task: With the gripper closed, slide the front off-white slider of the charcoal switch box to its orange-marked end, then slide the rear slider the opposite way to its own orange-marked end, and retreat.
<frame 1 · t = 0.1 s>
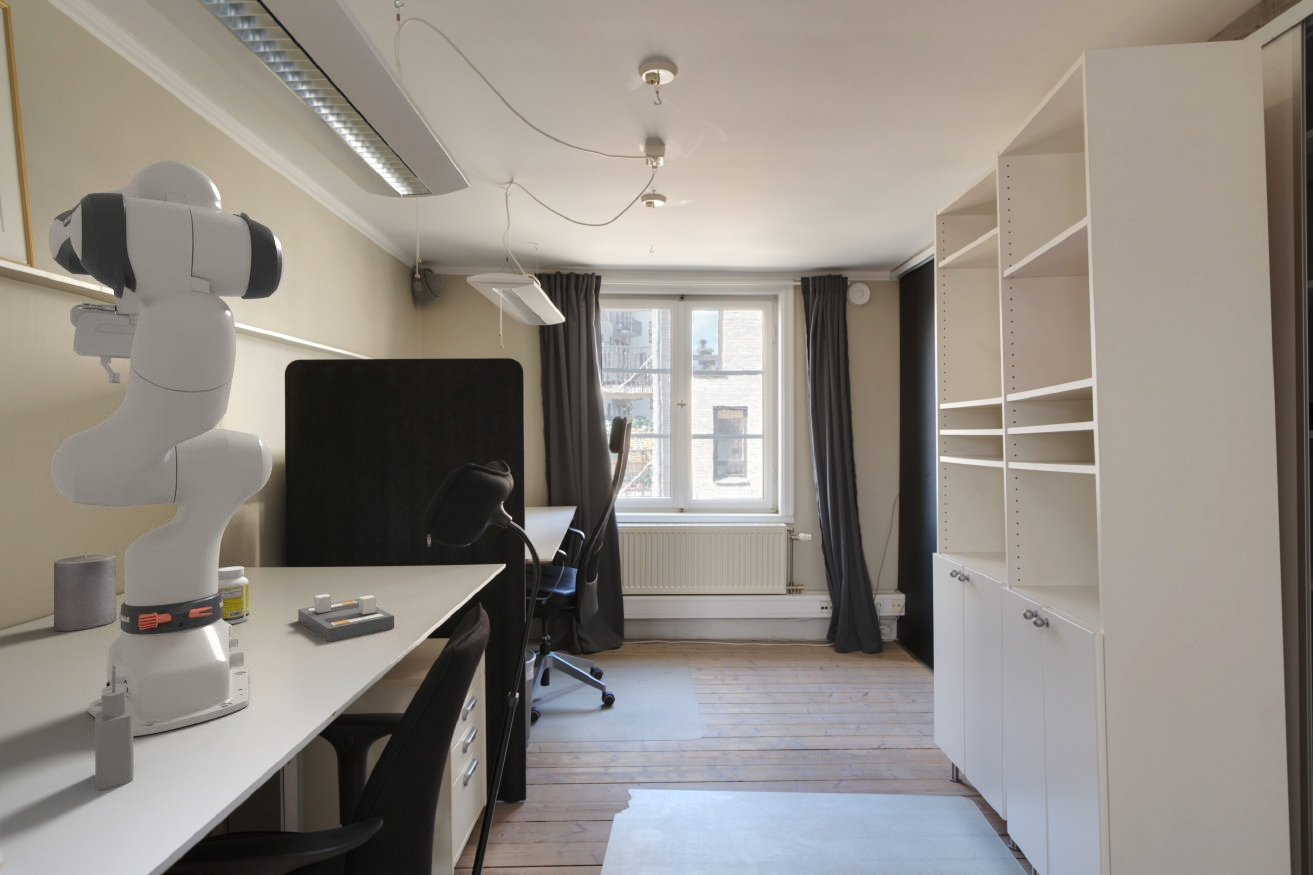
hand: (148, 384, 117), 48 cm above the table, fingers open, 8 cm apart
front slider: (367, 604, 128), point 4 cm above the table, slide at 0.0 cm
pill bottle: (231, 622, 133), on the table
rear slider: (322, 603, 130), point 4 cm above the table, slide at 6.0 cm
switch housing: (345, 624, 129), on the table
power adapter: (115, 778, 71), on the table
pillar candle: (86, 625, 132), on the table
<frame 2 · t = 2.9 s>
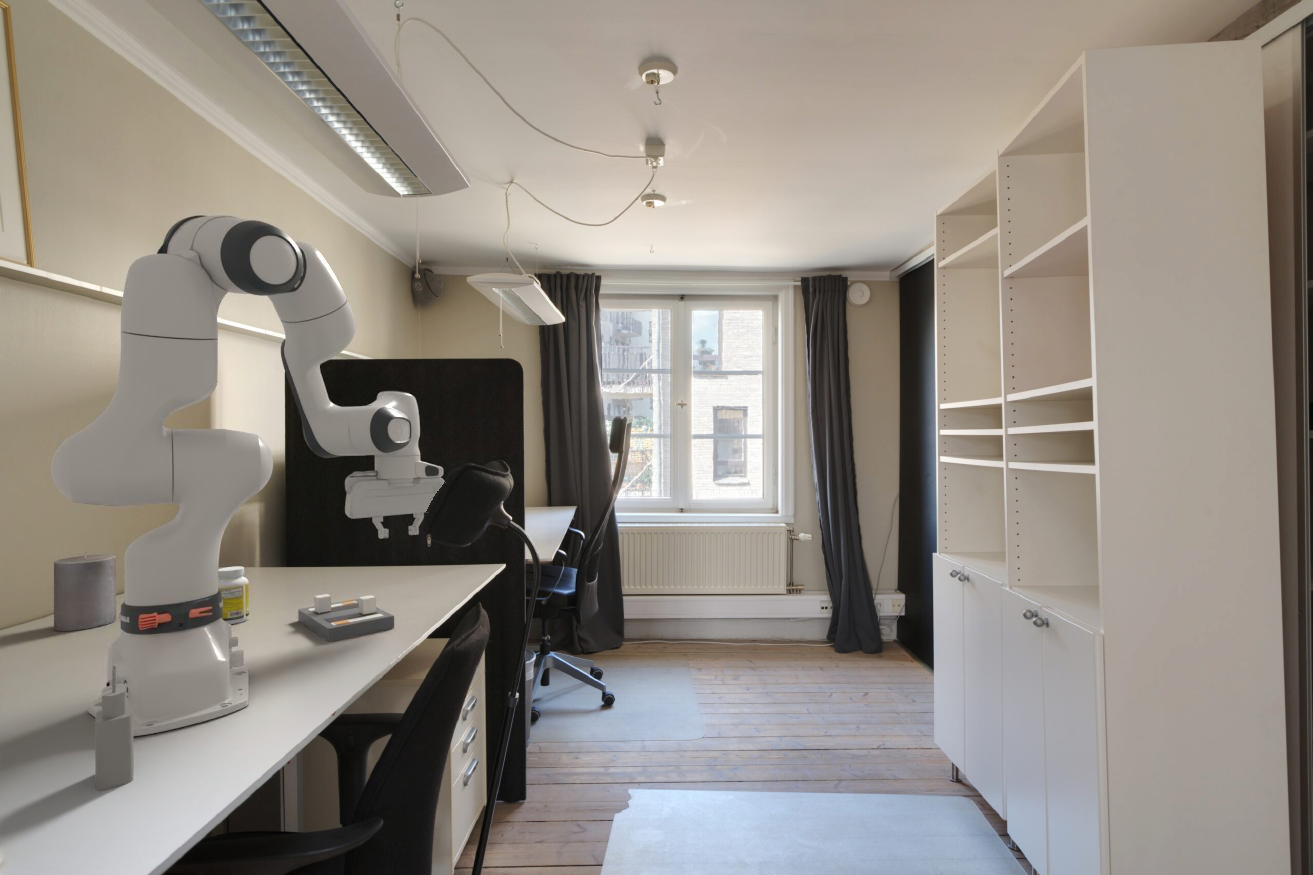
hand: (398, 536, 133), 17 cm above the table, fingers open, 5 cm apart
nothing on the table moved.
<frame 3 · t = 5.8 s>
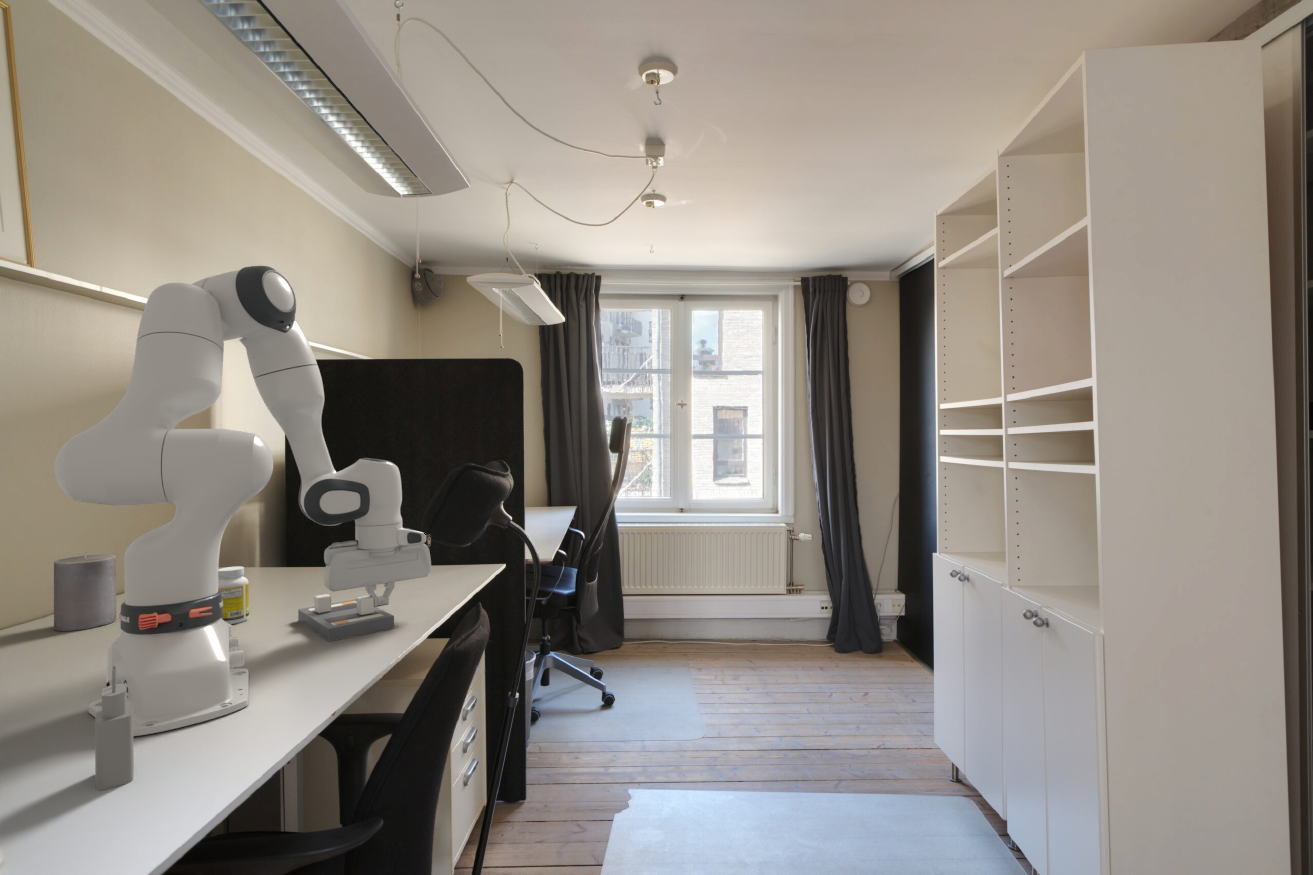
hand: (380, 605, 130), 3 cm above the table, fingers closed
front slider: (365, 605, 128), point 4 cm above the table, slide at 0.4 cm, touching gripper
everything else where it was.
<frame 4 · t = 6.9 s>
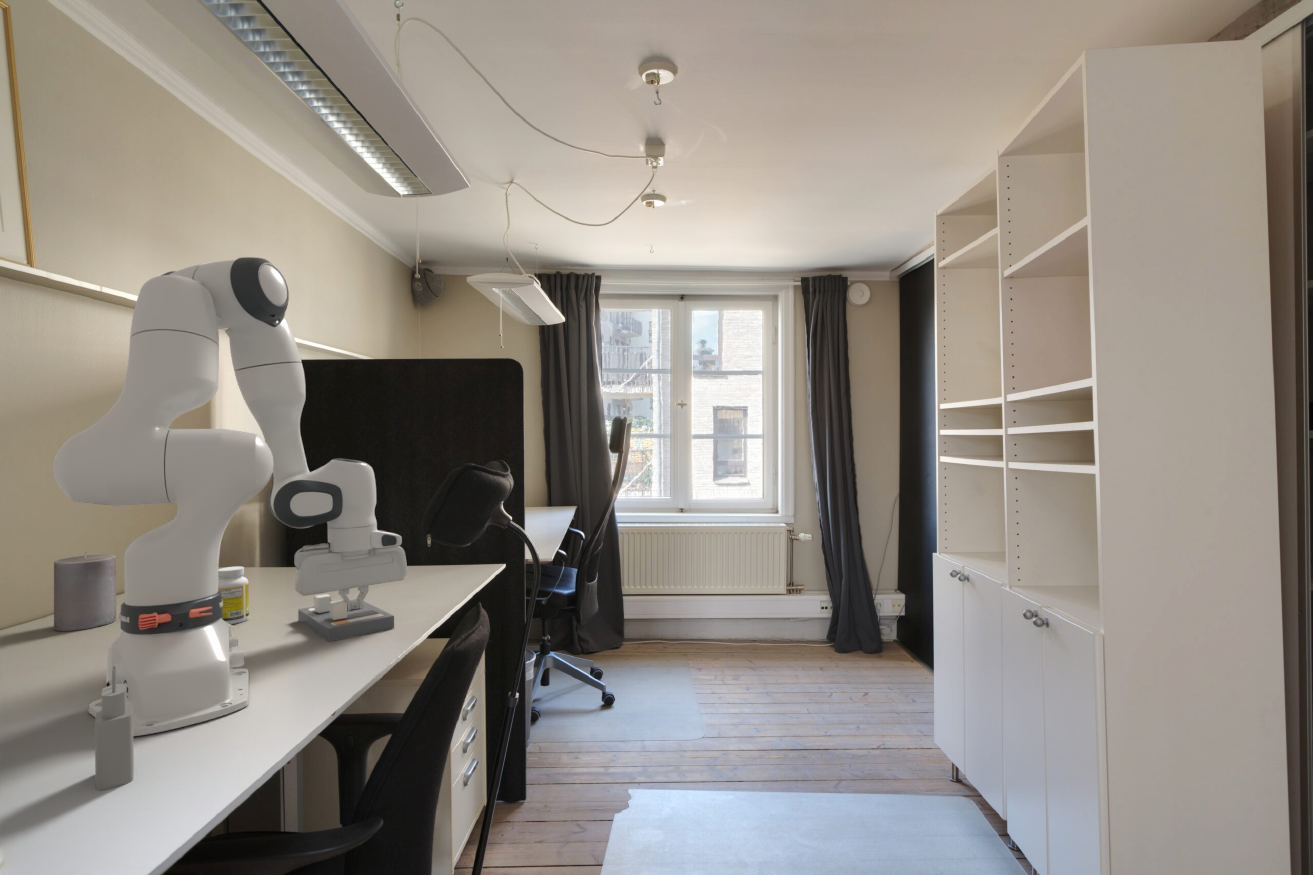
hand: (353, 610, 127), 4 cm above the table, fingers closed
front slider: (338, 609, 125), point 4 cm above the table, slide at 5.5 cm, touching gripper
everything else where it was.
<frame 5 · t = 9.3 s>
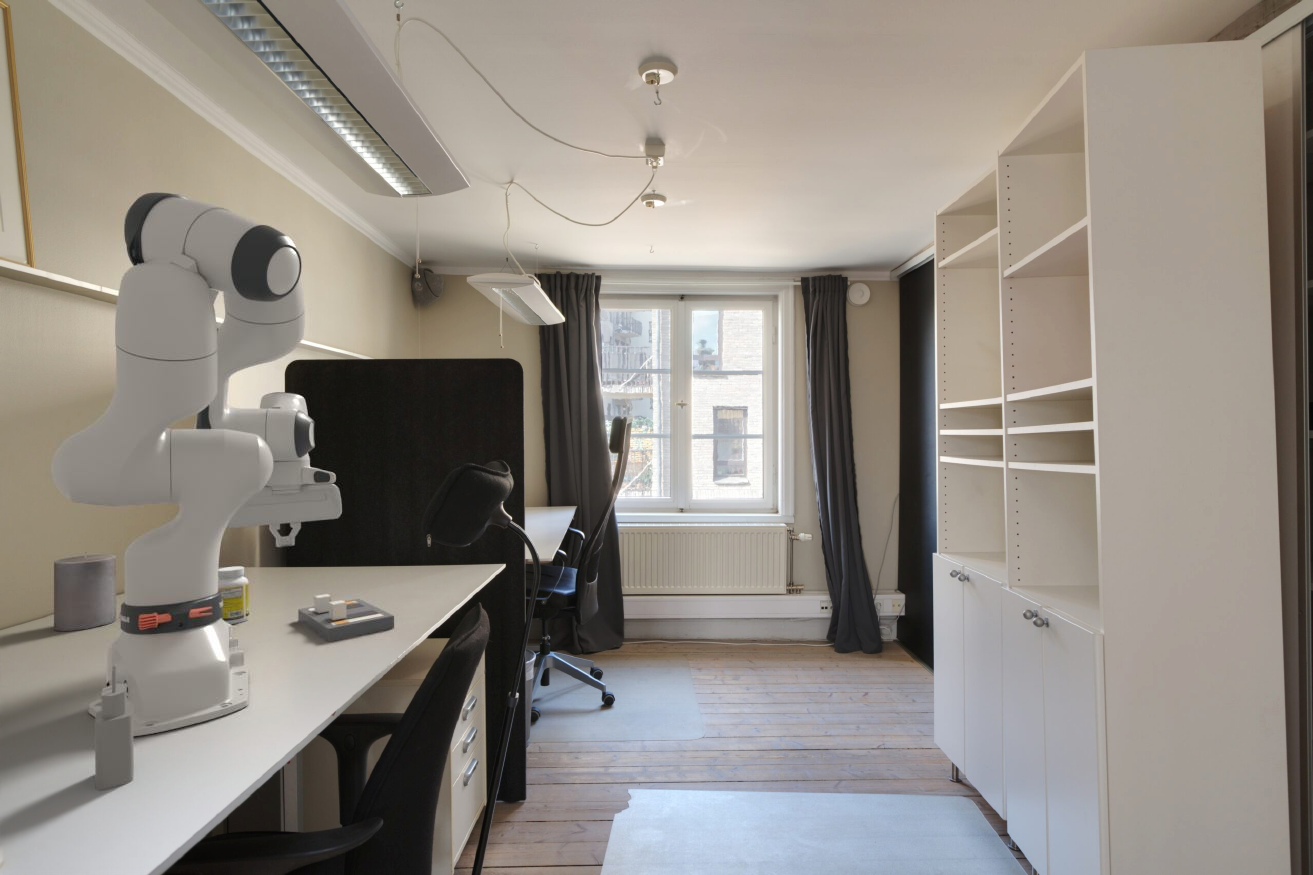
hand: (285, 546, 126), 17 cm above the table, fingers closed
front slider: (337, 610, 125), point 4 cm above the table, slide at 5.6 cm
everything else where it was.
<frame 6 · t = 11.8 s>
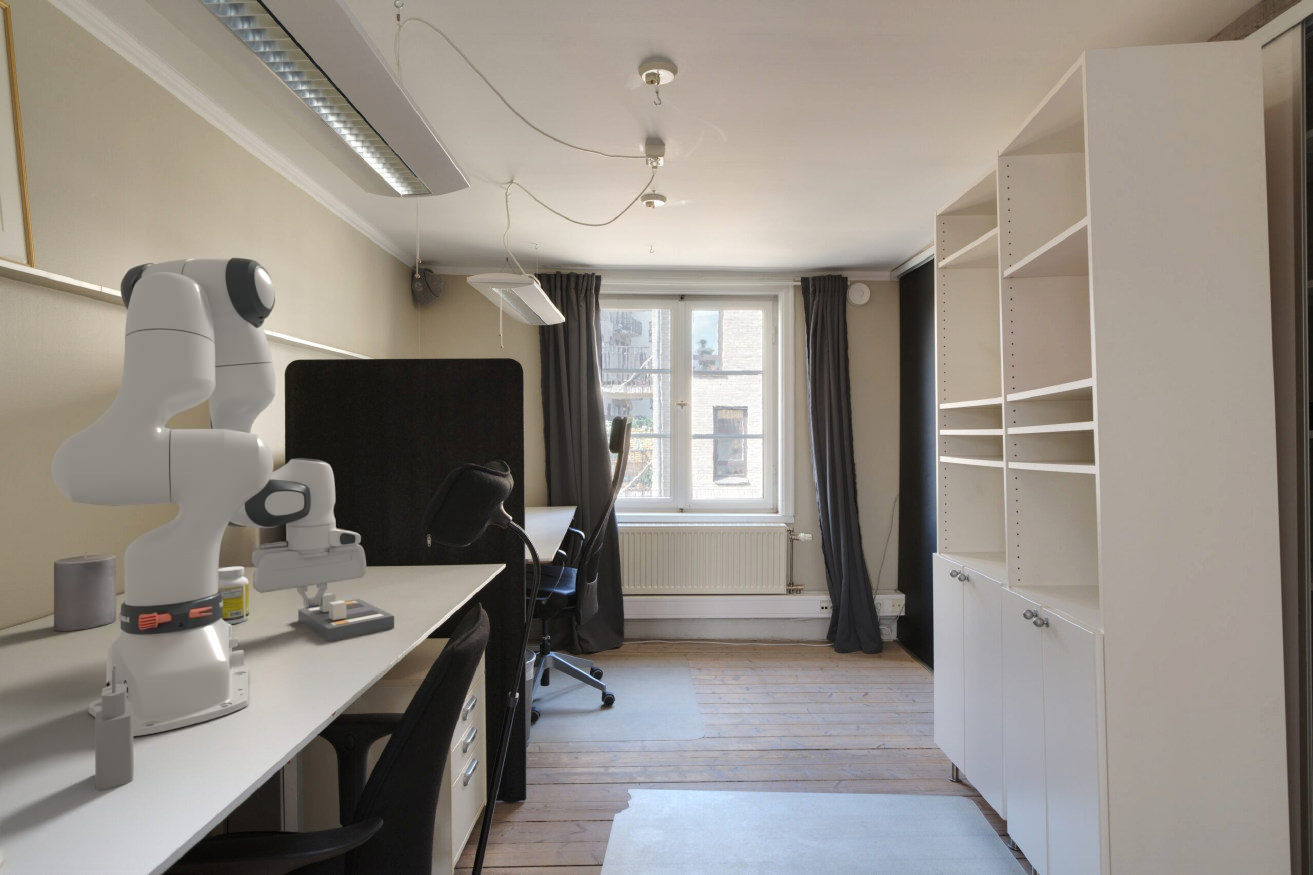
hand: (312, 606, 129), 4 cm above the table, fingers closed
rear slider: (327, 602, 131), point 4 cm above the table, slide at 5.1 cm, touching gripper
everything else where it was.
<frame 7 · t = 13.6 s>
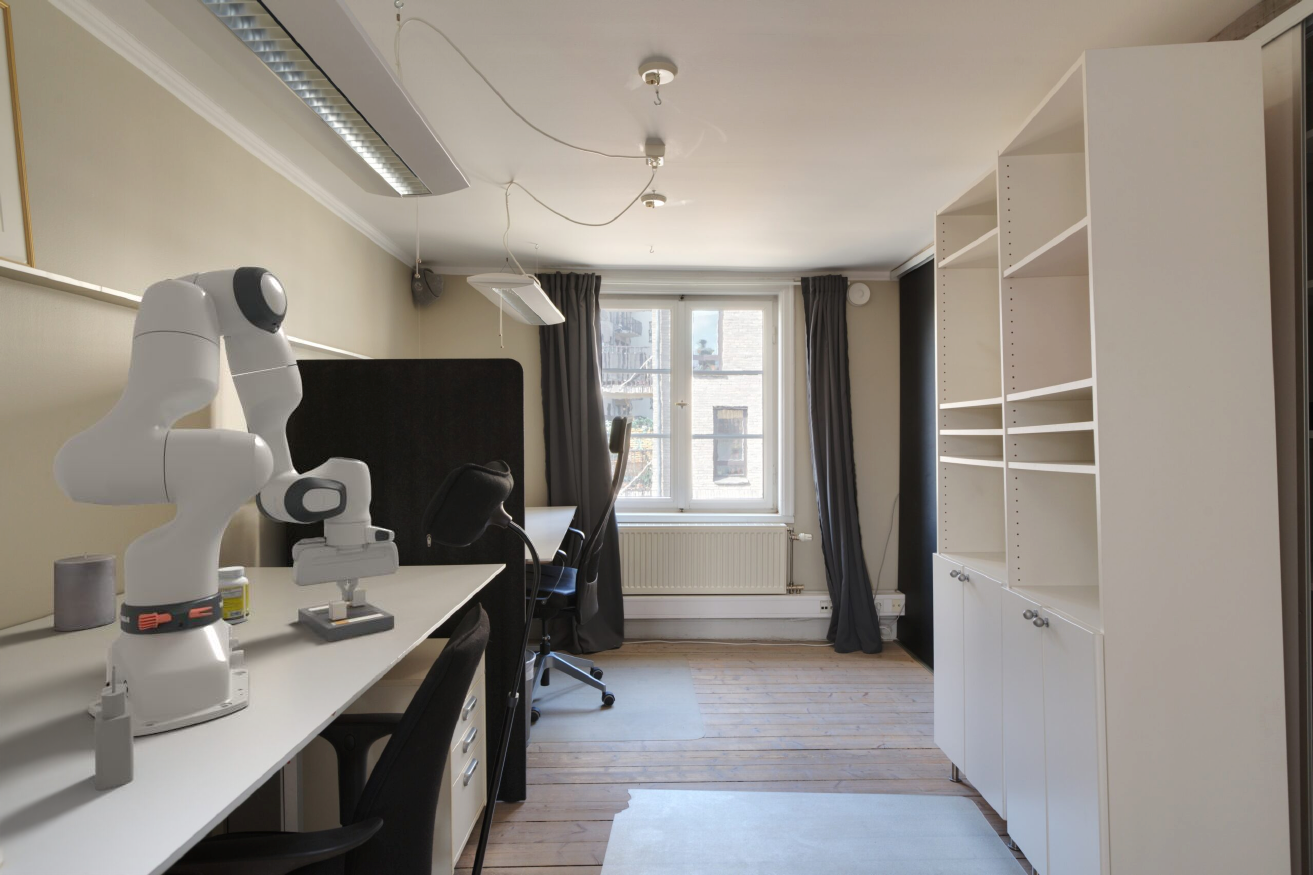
hand: (347, 601, 134), 4 cm above the table, fingers closed, pressing on rear slider
rear slider: (357, 597, 135), point 4 cm above the table, slide at -0.7 cm, touching gripper
everything else where it was.
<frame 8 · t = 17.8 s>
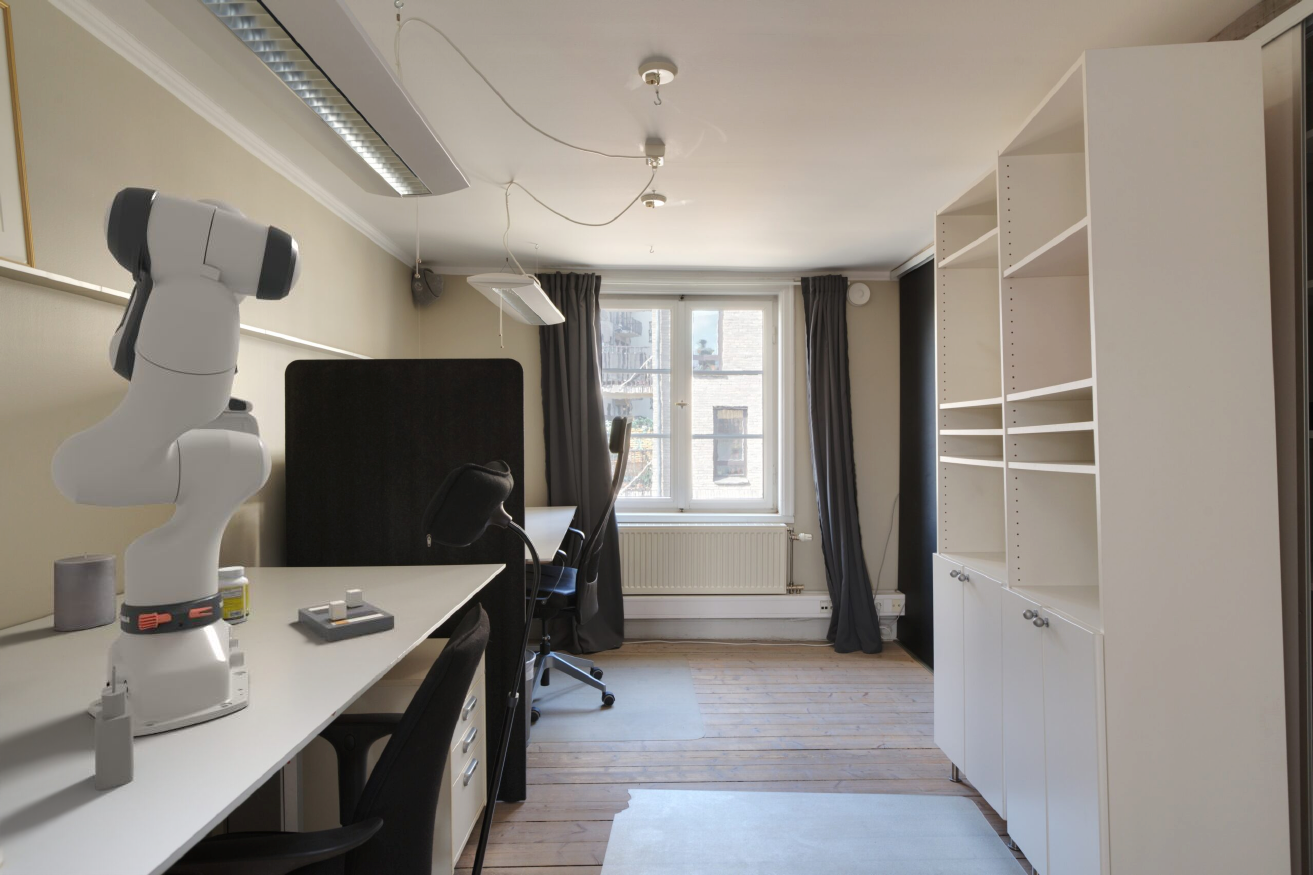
hand: (199, 473, 125), 31 cm above the table, fingers closed
rear slider: (353, 598, 134), point 4 cm above the table, slide at -0.1 cm
everything else where it was.
at the end: front slider slide at 5.6 cm; rear slider slide at -0.1 cm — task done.
